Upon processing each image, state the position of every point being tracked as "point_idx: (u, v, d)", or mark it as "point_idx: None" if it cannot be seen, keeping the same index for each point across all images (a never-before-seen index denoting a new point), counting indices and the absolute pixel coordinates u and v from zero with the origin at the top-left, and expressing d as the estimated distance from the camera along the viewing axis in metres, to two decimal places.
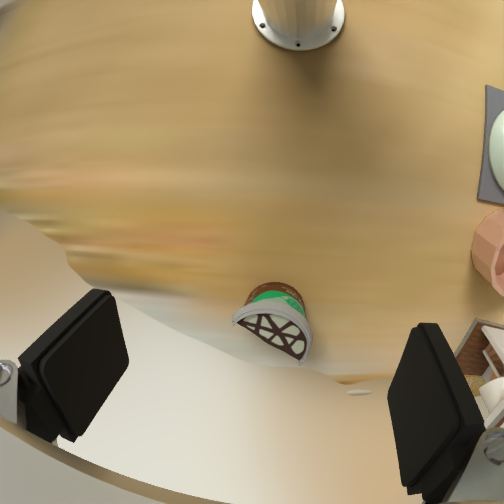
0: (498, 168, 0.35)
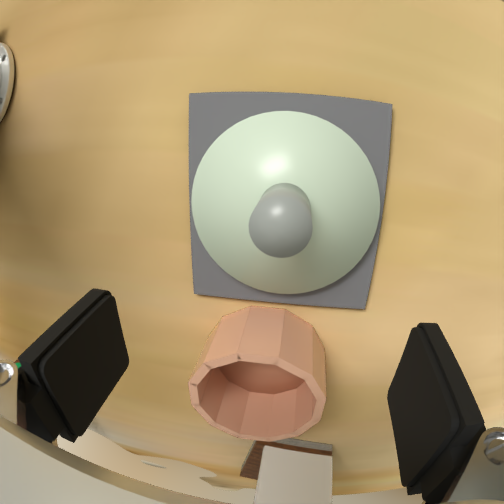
0: (216, 245, 0.26)
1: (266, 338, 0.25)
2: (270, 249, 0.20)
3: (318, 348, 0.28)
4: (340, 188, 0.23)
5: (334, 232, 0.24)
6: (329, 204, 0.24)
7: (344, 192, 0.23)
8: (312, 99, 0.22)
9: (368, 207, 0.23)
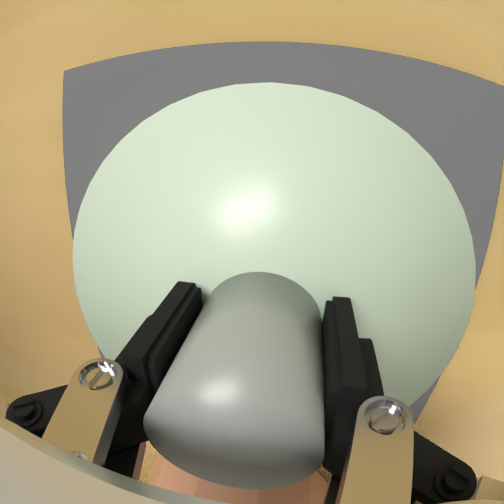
0: None
1: None
2: (210, 475, 0.06)
3: (318, 497, 0.14)
4: (396, 285, 0.09)
5: None
6: (366, 318, 0.10)
7: (404, 293, 0.09)
8: (333, 57, 0.08)
9: (448, 320, 0.09)
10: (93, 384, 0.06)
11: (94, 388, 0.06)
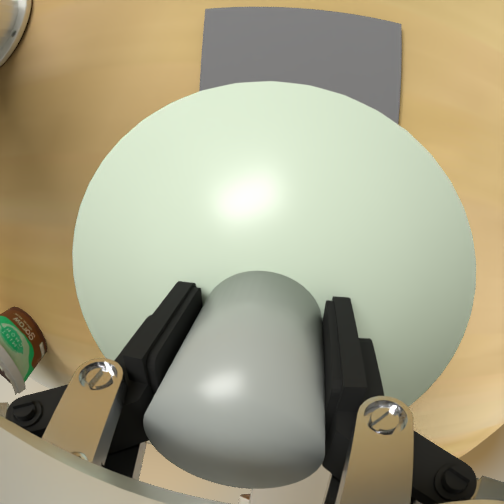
0: None
1: None
2: (210, 475, 0.06)
3: None
4: (396, 284, 0.09)
5: None
6: (367, 317, 0.10)
7: (404, 292, 0.09)
8: (325, 14, 0.19)
9: (448, 319, 0.09)
10: (93, 384, 0.06)
11: (94, 388, 0.06)
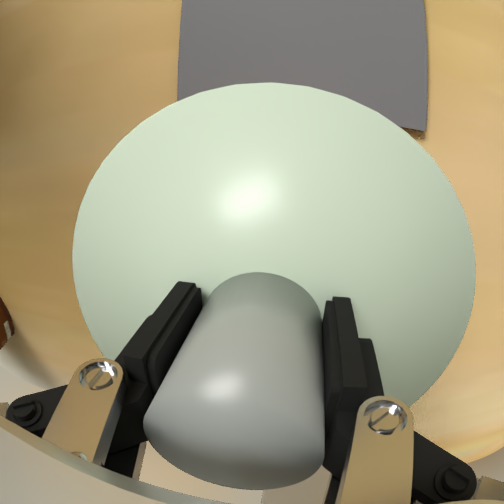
0: None
1: None
2: (210, 476, 0.06)
3: None
4: (396, 285, 0.09)
5: None
6: (366, 319, 0.10)
7: (404, 293, 0.09)
8: None
9: (448, 321, 0.09)
10: (93, 384, 0.06)
11: (94, 388, 0.06)
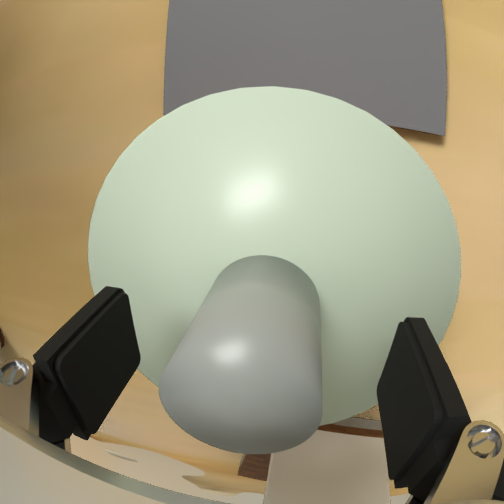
0: (143, 355, 0.14)
1: None
2: (218, 440, 0.08)
3: None
4: (386, 267, 0.10)
5: (364, 348, 0.12)
6: (360, 299, 0.11)
7: (394, 275, 0.10)
8: None
9: (436, 302, 0.10)
10: (11, 382, 0.05)
11: (12, 385, 0.05)
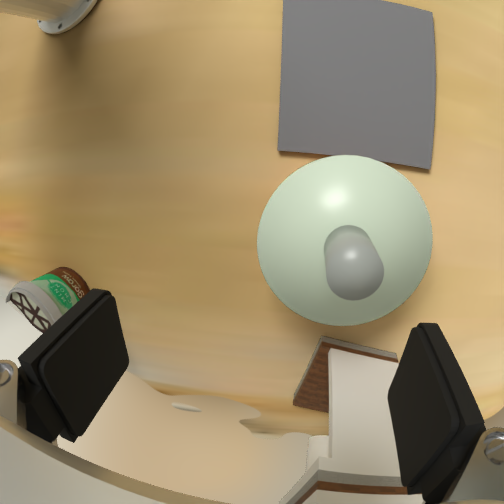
0: (278, 281, 0.27)
1: None
2: (344, 293, 0.21)
3: None
4: (399, 231, 0.24)
5: (391, 271, 0.25)
6: (389, 245, 0.24)
7: (402, 235, 0.24)
8: (377, 2, 0.23)
9: (422, 249, 0.24)
10: None
11: None
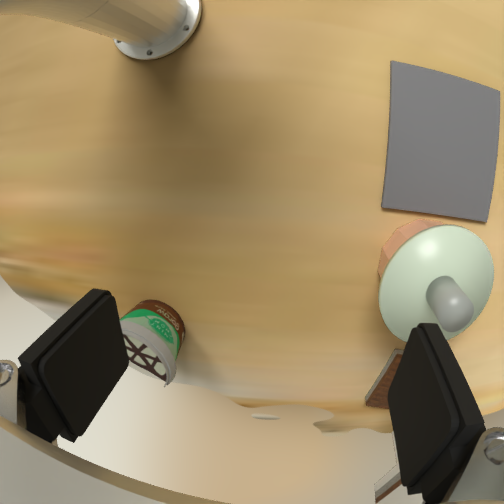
0: (391, 316, 0.33)
1: None
2: (448, 327, 0.27)
3: None
4: (474, 278, 0.29)
5: None
6: (466, 288, 0.30)
7: (476, 280, 0.29)
8: (462, 81, 0.28)
9: (486, 289, 0.29)
10: None
11: None
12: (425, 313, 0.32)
